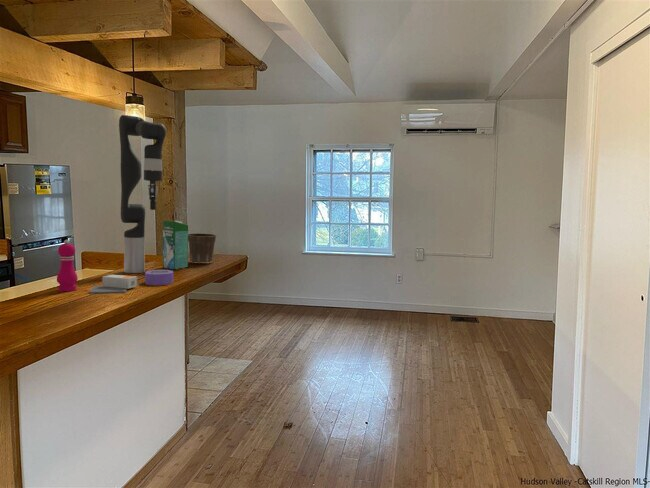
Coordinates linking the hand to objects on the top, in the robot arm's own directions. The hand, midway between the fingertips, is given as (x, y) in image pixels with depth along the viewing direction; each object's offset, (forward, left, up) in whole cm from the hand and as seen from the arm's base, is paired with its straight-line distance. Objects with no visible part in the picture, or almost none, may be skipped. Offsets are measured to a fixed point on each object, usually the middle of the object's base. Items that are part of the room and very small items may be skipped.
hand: (152, 209), depth 205 cm
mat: (+16, -15, -32) cm, 39 cm away
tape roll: (+2, +3, -32) cm, 33 cm away
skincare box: (+15, -7, -29) cm, 34 cm away
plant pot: (-55, +23, -32) cm, 68 cm away
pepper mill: (+15, -31, -32) cm, 47 cm away
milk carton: (-38, +9, -32) cm, 51 cm away
